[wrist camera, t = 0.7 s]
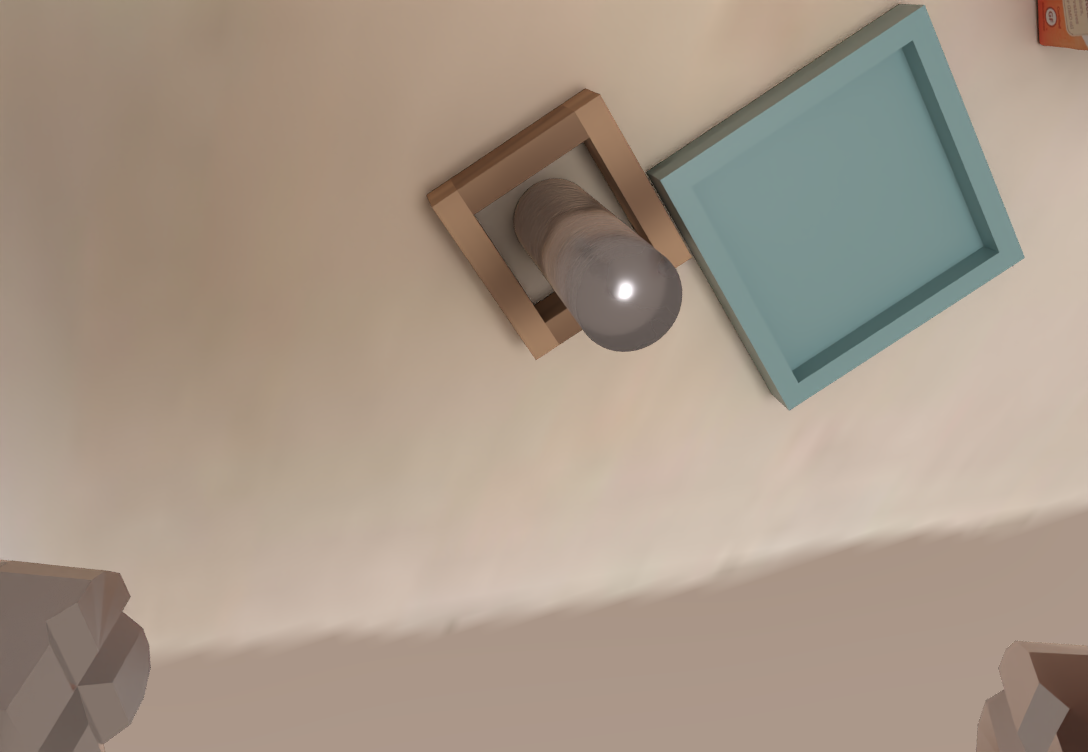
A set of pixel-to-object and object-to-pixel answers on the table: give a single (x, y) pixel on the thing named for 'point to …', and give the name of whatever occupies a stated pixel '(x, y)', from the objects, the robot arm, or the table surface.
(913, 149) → the tray
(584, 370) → the table surface
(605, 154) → the collar
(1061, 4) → the cracker box
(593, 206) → the peg
